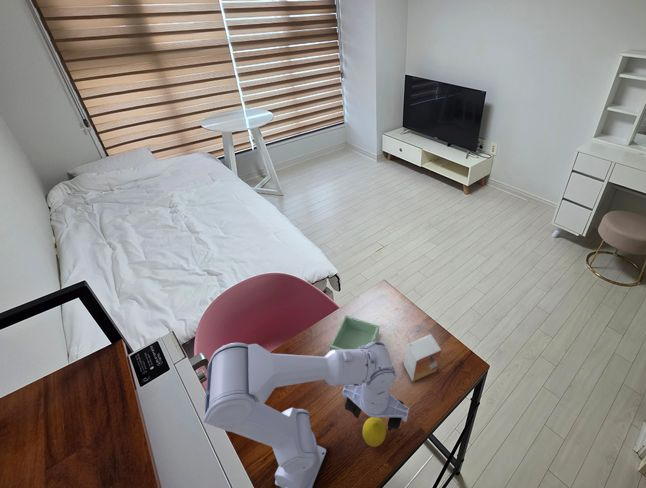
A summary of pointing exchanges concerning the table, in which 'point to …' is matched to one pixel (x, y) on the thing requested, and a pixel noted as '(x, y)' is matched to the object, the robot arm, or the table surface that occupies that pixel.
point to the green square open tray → (354, 334)
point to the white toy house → (422, 357)
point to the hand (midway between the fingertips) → (374, 419)
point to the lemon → (374, 431)
